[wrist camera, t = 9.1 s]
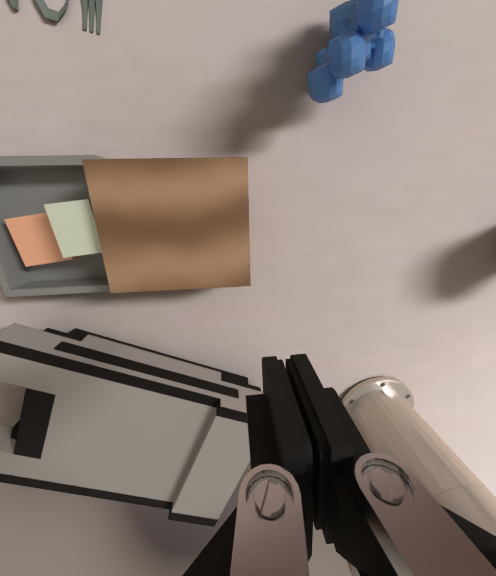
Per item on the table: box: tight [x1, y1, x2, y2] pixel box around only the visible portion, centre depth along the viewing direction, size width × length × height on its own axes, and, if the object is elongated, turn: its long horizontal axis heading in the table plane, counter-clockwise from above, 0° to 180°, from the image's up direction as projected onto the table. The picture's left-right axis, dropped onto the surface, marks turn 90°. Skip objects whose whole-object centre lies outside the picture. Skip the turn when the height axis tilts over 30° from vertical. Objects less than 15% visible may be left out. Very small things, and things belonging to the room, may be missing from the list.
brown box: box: [82, 157, 250, 293], centre depth 27 cm, size 12×14×7 cm
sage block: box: [44, 199, 102, 258], centre depth 26 cm, size 5×5×4 cm
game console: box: [0, 323, 263, 526], centre depth 34 cm, size 21×32×8 cm, turn 67°
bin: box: [0, 155, 110, 297], centre depth 27 cm, size 14×12×4 cm
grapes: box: [307, 0, 398, 103], centre depth 21 cm, size 12×7×12 cm, turn 152°
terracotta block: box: [4, 213, 83, 267], centre depth 27 cm, size 5×5×2 cm
